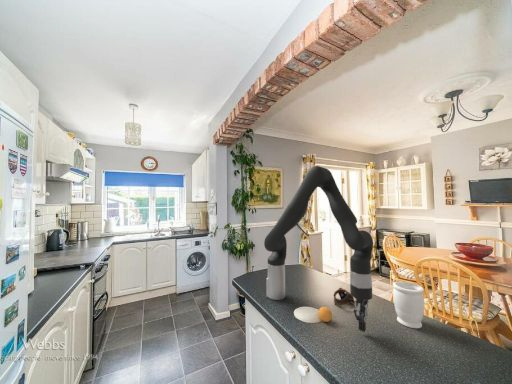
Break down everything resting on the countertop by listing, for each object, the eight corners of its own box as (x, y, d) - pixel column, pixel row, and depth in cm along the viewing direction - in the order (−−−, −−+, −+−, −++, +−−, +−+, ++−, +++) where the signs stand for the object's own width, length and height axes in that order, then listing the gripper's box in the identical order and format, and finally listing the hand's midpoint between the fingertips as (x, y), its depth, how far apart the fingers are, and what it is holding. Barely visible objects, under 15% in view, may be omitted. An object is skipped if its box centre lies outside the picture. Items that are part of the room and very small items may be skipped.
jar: (416, 333, 78) (415, 293, 78) (388, 319, 87) (387, 283, 88) (430, 325, 82) (428, 287, 83) (402, 313, 92) (401, 279, 92)
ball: (315, 320, 85) (319, 308, 85) (317, 312, 90) (321, 301, 90) (328, 327, 83) (333, 315, 82) (330, 319, 88) (334, 308, 87)
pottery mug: (360, 310, 95) (353, 297, 94) (341, 318, 96) (334, 304, 95) (350, 293, 107) (343, 280, 106) (333, 300, 108) (326, 287, 107)
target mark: (290, 318, 88) (290, 318, 88) (297, 304, 100) (297, 304, 100) (321, 326, 83) (321, 325, 83) (325, 310, 94) (325, 310, 94)
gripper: (354, 276, 86) (355, 318, 85) (345, 286, 76) (346, 334, 75) (375, 280, 81) (376, 325, 80) (368, 292, 71) (370, 343, 70)
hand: (362, 330), depth 78 cm, fingers closed
